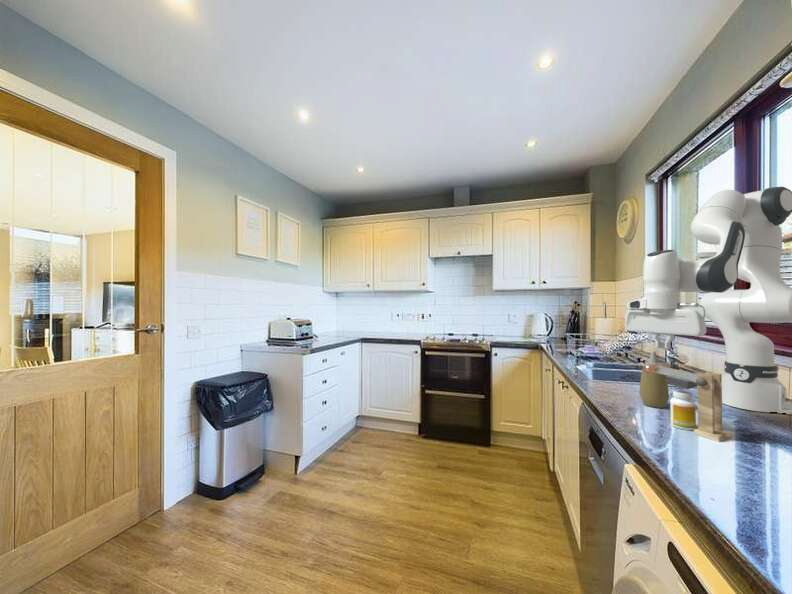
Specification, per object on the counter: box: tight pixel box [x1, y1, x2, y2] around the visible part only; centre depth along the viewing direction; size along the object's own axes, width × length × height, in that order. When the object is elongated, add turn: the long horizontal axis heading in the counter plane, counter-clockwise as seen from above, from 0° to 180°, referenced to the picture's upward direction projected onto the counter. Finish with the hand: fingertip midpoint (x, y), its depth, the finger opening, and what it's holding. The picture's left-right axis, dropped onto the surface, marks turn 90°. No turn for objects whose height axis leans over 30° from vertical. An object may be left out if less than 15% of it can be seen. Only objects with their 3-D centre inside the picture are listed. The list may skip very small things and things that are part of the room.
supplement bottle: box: [669, 390, 697, 431], centre depth 93 cm, size 5×5×10 cm
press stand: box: [693, 371, 733, 442], centre depth 87 cm, size 7×5×16 cm
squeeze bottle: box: [638, 351, 670, 409], centre depth 112 cm, size 8×8×18 cm
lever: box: [642, 361, 715, 390], centre depth 94 cm, size 10×15×4 cm
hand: (663, 348), depth 101 cm, fingers closed
